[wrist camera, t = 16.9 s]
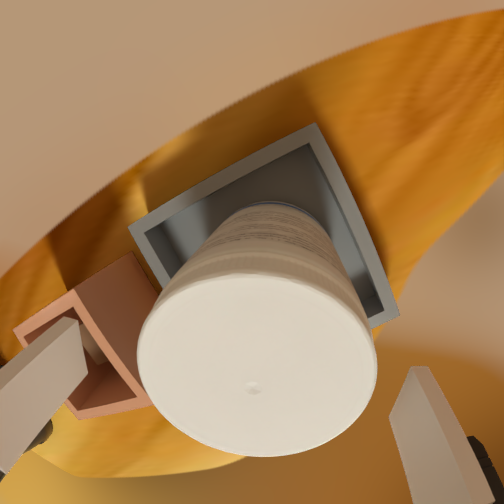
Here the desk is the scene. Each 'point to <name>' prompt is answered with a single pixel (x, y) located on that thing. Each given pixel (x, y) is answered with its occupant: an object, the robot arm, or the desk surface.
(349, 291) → the supplement tub
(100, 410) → the terracotta bin
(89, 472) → the desk surface
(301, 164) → the gray tray
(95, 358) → the walnut block
